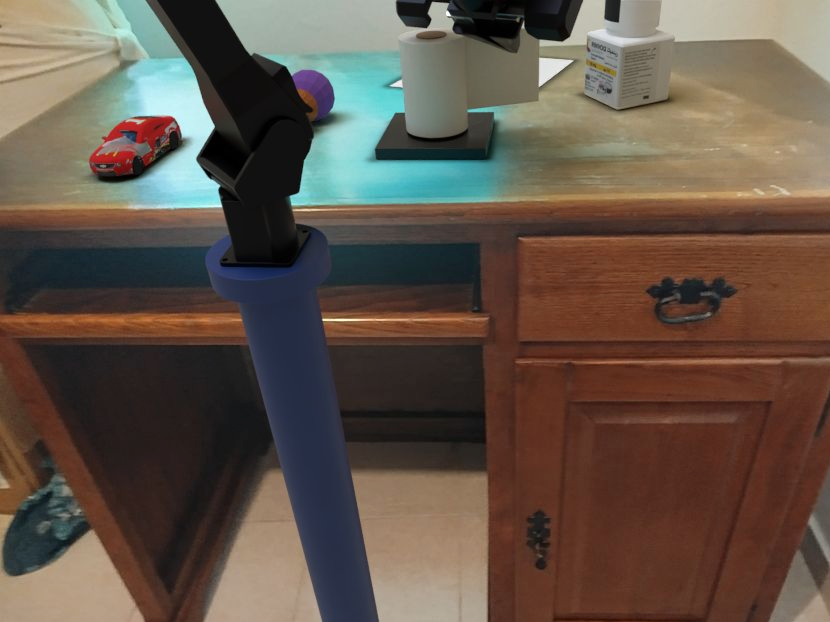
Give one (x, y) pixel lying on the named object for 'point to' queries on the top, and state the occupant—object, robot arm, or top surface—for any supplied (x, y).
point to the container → (629, 55)
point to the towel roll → (461, 78)
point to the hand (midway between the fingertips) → (515, 48)
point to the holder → (437, 141)
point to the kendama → (315, 92)
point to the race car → (135, 145)
